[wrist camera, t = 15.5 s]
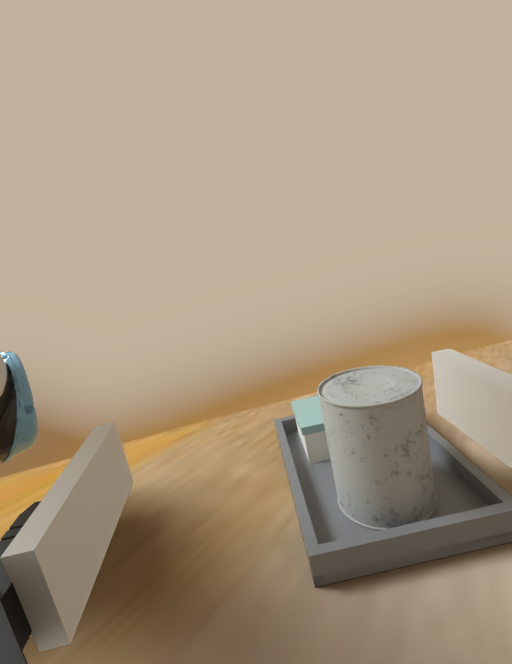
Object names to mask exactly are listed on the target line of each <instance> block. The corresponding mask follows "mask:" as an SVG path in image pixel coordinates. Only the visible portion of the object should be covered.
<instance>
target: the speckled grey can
mask: <svg viewBox="0 0 512 664" xmlns="http://www.w3.org/2000/svg"><path fill="white" fill-rule="evenodd" d="M317 394H318V396H319V399H320V405H321V410H322V415H323V421H324V426H325V432H326V437H327V442H328V448H329V453H330V459H331V464H332V469H333V475H334V480H335V486H336V491H337V502H338V505H339V507H340V509H341V511H342V512H343V513H344V515H345V516H346V517H347V518H349V519H350V520H351V521H353V522H354V523H356V524H358V525H360V526H362V527H365V528H369V529H372V530H378V531H380V530H385V529H389V528H393V527H398V526H402V525H407V524H411V523H415V522H420V521H424V520H428V519H429V518H430V517H431V515H432V514H433V513H434V511H435V508H436V505H437V496H436V493H435V488H434V480H433V472H432V464H431V456H430V448H429V440H428V432H427V424H426V416H425V408H424V400H423V391H422V379H421V377H420V376H419V374H417V373H416V372H414V371H412V370H409V369H406V368H401V367H395V366H367V367H359V368H354V369H349V370H346V371H342V372H339V373H337V374H334V375H332V376H330V377H328V378H327V379H325V380H324V381H323V382H321V383H320V385H319V386H318V389H317Z"/></svg>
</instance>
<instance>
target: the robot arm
mask: <svg viewBox="0 0 512 664" xmlns="http://www.w3.org/2000/svg"><path fill="white" fill-rule="evenodd" d="M432 361H433V371H434V382H435V392H436V402H437V413H438V414H439V415H441V416H442V417H443V418H445V419H446V420H447V421H449V422H450V423H451V424H452V425H454V426H455V427H456V428H458V429H459V430H460V431H462V432H463V433H464V434H466V435H467V436H468V437H470V438H471V439H472V440H474V441H475V442H476V443H478V444H479V445H480V446H482V447H483V448H484V449H486V450H487V451H488V452H490V453H491V454H492V455H494V456H495V457H496V458H498V459H499V460H500V461H502V462H503V463H504V464H506V465H507V466H508V467H510V468H511V469H512V375H510V374H508V373H506V372H503V371H501V370H499V369H496V368H494V367H492V366H489V365H487V364H485V363H482V362H480V361H478V360H475V359H473V358H471V357H468V356H466V355H463V354H461V353H459V352H456V351H454V350H452V349H445V350H440V351H436V352H432ZM33 404H34V403H33V397H32V393H31V389H30V385H29V382H28V379H27V376H26V373H25V370H24V367H23V365H22V362H21V361H20V358H19V357H18V356H17V355H16V354H15V353H12V352H5V353H3V352H0V463H3V462H6V461H8V460H9V459H10V458H11V457H13V456H15V455H17V454H19V453H22V452H24V451H26V450H28V449H30V448H31V447H32V446H33V445H34V444H35V443H36V441H37V438H38V421H37V415H36V411H35V408H34V406H33ZM132 485H133V479H132V476H131V472H130V469H129V466H128V462H127V459H126V456H125V453H124V449H123V446H122V443H121V440H120V436H119V433H118V430H117V426H116V423H115V422H112V423H107V424H102V425H98V426H95V428H94V429H93V431H92V432H91V434H90V435H89V436H88V438H87V439H86V440H85V442H84V443H83V444H82V446H81V447H80V449H79V450H78V451H77V453H76V454H75V455H74V457H73V458H72V459H71V461H70V462H69V464H68V465H67V466H66V468H65V469H64V470H63V472H62V473H61V475H60V476H59V477H58V479H57V480H56V481H55V483H54V484H53V486H52V487H51V488H50V490H49V491H48V492H47V494H46V495H45V497H44V498H43V499H42V501H39V502H35V503H33V504H32V505H31V506H30V507H29V508H27V509H26V510H25V511H24V512H23V513H21V514H20V515H19V516H18V518H17V519H16V520H15V522H14V523H13V524H12V525H11V527H10V530H8V531H7V532H6V533H5V535H4V536H3V537H2V538H1V541H0V664H28V663H27V661H26V658H25V656H24V654H23V651H22V650H23V648H24V646H25V644H26V642H27V640H28V638H29V636H30V634H32V636H33V639H34V641H35V644H36V646H37V648H38V651H39V652H41V651H45V650H49V649H54V648H58V647H62V646H66V645H70V644H71V642H72V640H73V637H74V634H75V632H76V629H77V627H78V624H79V621H80V619H81V616H82V614H83V611H84V609H85V606H86V603H87V601H88V598H89V596H90V593H91V590H92V588H93V585H94V583H95V580H96V578H97V575H98V572H99V570H100V567H101V565H102V562H103V559H104V557H105V554H106V552H107V549H108V547H109V544H110V541H111V539H112V536H113V534H114V531H115V528H116V526H117V523H118V521H119V518H120V516H121V513H122V510H123V508H124V505H125V503H126V500H127V497H128V495H129V492H130V490H131V487H132Z"/></svg>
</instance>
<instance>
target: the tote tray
mask: <svg viewBox="0 0 512 664" xmlns="http://www.w3.org/2000/svg"><path fill="white" fill-rule="evenodd" d="M274 422H275V427H276V431H277V436H278V440H279V444H280V448H281V452H282V456H283V460H284V464H285V468H286V472H287V476H288V480H289V484H290V488H291V492H292V496H293V500H294V504H295V508H296V512H297V516H298V520H299V524H300V528H301V532H302V536H303V540H304V544H305V548H306V552H307V556H308V560H309V564H310V568H311V572H312V576H313V580H314V584H315V587H318V586H323V585H327V584H331V583H336V582H340V581H344V580H349V579H353V578H357V577H362V576H366V575H370V574H375V573H379V572H383V571H388V570H392V569H396V568H401V567H405V566H409V565H414V564H418V563H422V562H427V561H431V560H435V559H440V558H444V557H449V556H453V555H457V554H462V553H466V552H470V551H475V550H479V549H483V548H488V547H492V546H496V545H501V544H505V543H509V542H512V496H510V495H509V494H508V493H507V492H506V491H505V490H504V489H502V488H501V487H500V486H499V485H498V484H497V483H495V482H494V481H493V480H492V479H491V478H490V477H488V476H487V475H486V474H485V473H484V472H483V471H481V470H480V469H479V468H478V467H477V466H476V465H475V464H473V463H472V462H471V461H470V460H469V459H468V458H466V457H465V456H464V455H463V454H462V453H461V452H459V451H458V450H457V449H456V448H455V447H454V446H452V445H451V444H450V443H449V442H448V441H447V440H445V439H444V438H443V437H442V436H441V435H440V434H439V433H437V432H436V431H435V430H434V429H433V428H432V427H430V426H429V425H428V424H427V423H426V424H427V432H428V440H429V448H430V456H431V464H432V472H433V480H434V488H435V493H436V496H437V505H436V508H435V511H434V513H433V514H432V515H431V517H430V518H429V519H428V520H424V521H420V522H415V523H411V524H407V525H402V526H398V527H393V528H389V529H385V530H380V531H378V530H372V529H369V528H365V527H362V526H360V525H358V524H356V523H354V522H353V521H351V520H350V519H349V518H347V517H346V516H345V515H344V513H343V512H342V511H341V509H340V507H339V505H338V502H337V491H336V486H335V480H334V475H333V469H332V464H331V459H329V460H325V461H320V462H316V463H311V464H310V463H309V460H308V458H307V455H306V452H305V450H304V447H303V444H302V442H301V439H300V436H299V433H298V428H297V423H296V418H295V415H294V416H289V417H285V418H280V419H276V420H274Z"/></svg>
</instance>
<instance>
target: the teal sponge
mask: <svg viewBox="0 0 512 664" xmlns="http://www.w3.org/2000/svg"><path fill="white" fill-rule="evenodd" d="M291 406H292V410H293V412H294V415H295V418H296V423H297V428H298V433H299V436H300V439H301V442H302V444H303V447H304V450H305V452H306V455H307V458H308V460H309V463H310V464H311V463H316V462H320V461H325V460H329V459H330V453H329V448H328V442H327V437H326V432H325V426H324V421H323V415H322V410H321V405H320V399H319V396H314V397H310V398H305V399H301V400H296V401H292V402H291Z"/></svg>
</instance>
